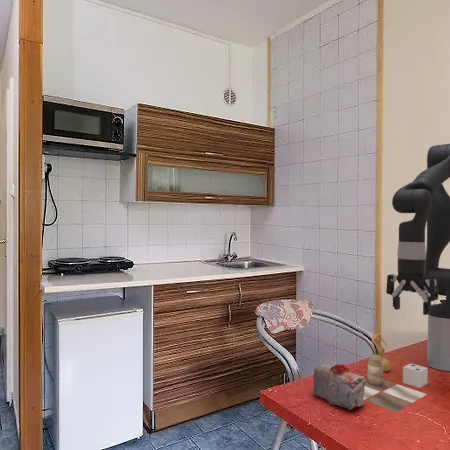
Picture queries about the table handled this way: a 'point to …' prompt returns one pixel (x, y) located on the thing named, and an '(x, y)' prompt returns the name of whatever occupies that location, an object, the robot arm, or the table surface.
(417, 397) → the game mat
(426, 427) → the table surface
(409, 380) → the die
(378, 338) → the figurine
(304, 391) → the table surface
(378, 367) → the pawn
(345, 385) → the food item
